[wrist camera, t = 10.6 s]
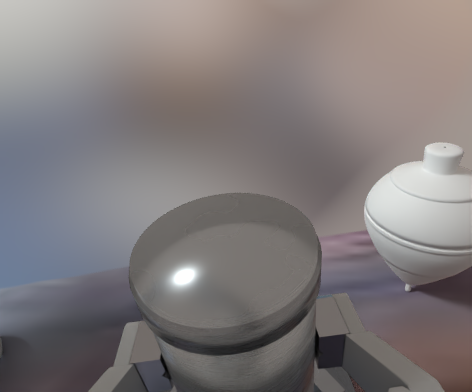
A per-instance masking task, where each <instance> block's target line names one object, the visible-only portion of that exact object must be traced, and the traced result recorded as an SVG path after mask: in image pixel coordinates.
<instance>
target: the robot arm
mask: <svg viewBox="0 0 472 392" xmlns="http://www.w3.org/2000/svg"><path fill="white" fill-rule="evenodd" d="M315 361H316V364H317V367H318V369H324V368H333V367H342V368H343V369H344V370H345V371H346V372H347V373H348V374H349V375H350V376H351V377H352V378H353V379H354V380H355V381H356V383H357V384H358V385H359V386H360V387H361V388H362V389H363V390H364V391H365V392H444V390H443V388H442V387H441V385H440V384H439V382H438V380H436V379H435V378H434V377H432V376H431V375H430V374H428V373H427V372H425V371H424V370H423V369H421V368H420V367H419V366H417V365H416V364H414V363H413V362H412V361H410V360H409V359H408V358H406V357H405V356H404V355H402V354H401V353H399V352H398V351H397V350H395V349H394V348H393V347H391V346H390V345H388V344H387V343H386V342H384V341H383V340H382V339H380V338H379V337H378V336H376V335H375V334H373V333H372V332H371V331H365V329H364V327H363V325H362V323H361V321H360V319H359V317H358V315H357V313H356V311H355V309H354V307H353V305H352V303H351V301H350V299H349V297H348V295H347V294H346V293H340V294H333V295H331V294H330V295H324V296H317V298H316V327H315ZM172 389H173V380H172V378H171V376H170V373H169V371H168V368H167V366H166V363H165V361H164V358H163V356H162V353H161V351H160V348H159V346H158V343H157V341H156V338H155V336H154V334H153V332H152V331H151V329H150V328H149V327H148V326H147V324H146V323H145V321H137V322H129V323H127V324H126V325H125V327H124V330H123V334H122V337H121V341H120V344H119V348H118V352H117V355H116V359H115V362H114V366H113V367H109V368H108V369H107V370H106V372H105V373H104V374H103V375H102V376H101V377H100V378H99V380H98V381H97V382H96V383H95V384H94V385H93V386H92V388H91V389H90V390H89V391H88V392H161V391H166V390H172Z"/></svg>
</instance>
